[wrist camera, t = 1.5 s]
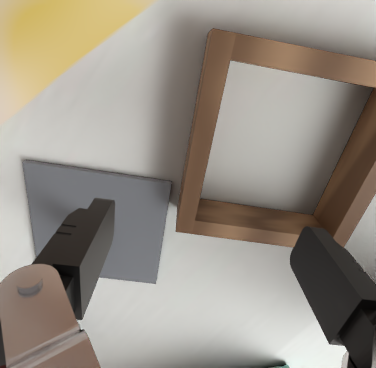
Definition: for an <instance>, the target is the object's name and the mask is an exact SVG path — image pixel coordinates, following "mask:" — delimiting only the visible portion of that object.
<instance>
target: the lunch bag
mask: <svg viewBox="0 0 376 368" xmlns="http://www.w3.org/2000/svg"><path fill="white" fill-rule="evenodd" d="M270 368H289V366H288V365H284V366H282V367H270Z"/></svg>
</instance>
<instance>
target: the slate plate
mask: <svg viewBox="0 0 376 368" xmlns="http://www.w3.org/2000/svg"><path fill="white" fill-rule="evenodd" d="M22 163H23V169H24V176H25V183H26V190H27V197H28V203H29V210H30V217H31V224H32V231H33V237H34V244H35V251H36V258H37V256H38V255H39V254H40V252H41V251H42V250H43V248H44V247H45V245H46V244H47V243H48V241H49V240H50V239H51V237H52V236H53V235H54V234H55V233H56V231H57V229H58V228H59V226H61V224H62V222H63V221H64V220H65V218H66V217H67V216H68V215H69V214H70V213H72V212H74V211H75V210H77V209H78V208H83V209H88V207H89V206H90V204H91V203H92V201H93V199H94V198H104V199H111V200H115V223H114V236H113V241H112V245H111V248H110V250H109V253H108V255H107V258H106V260H105V263H104V265H103V268H102V271H101V273H100V276H99V277H101V278H110V279H118V280H127V281H135V282H144V283H153V284H156V280H157V273H158V267H159V261H160V254H161V248H162V241H163V235H164V228H165V222H166V216H167V209H168V203H169V196H170V190H171V183H172V181H165V180H159V179H152V178H145V177H138V176H132V175H125V174H118V173H112V172H105V171H98V170H91V169H85V168H78V167H71V166H65V165H58V164H51V163H44V162H38V161H31V160H25V161H23V162H22Z"/></svg>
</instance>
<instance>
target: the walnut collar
mask: <svg viewBox="0 0 376 368" xmlns="http://www.w3.org/2000/svg"><path fill="white" fill-rule="evenodd" d="M230 60H231V61H237V62H242V63H247V64H252V65H257V66H263V67H268V68H273V69H278V70H284V71H289V72H294V73H299V74H304V75H310V76H315V77H320V78H325V79H331V80H336V81H341V82H346V83H351V84H357V85H362V86H367V87H372V88H374V89H373V91H372V93H371V95H370V97H369V99H368V101H367V103H366V105H365V107H364V109H363V112H362V114H361V116H360V118H359V120H358V122H357V124H356V126H355V128H354V130H353V132H352V134H351V137H350V139H349V141H348V143H347V145H346V147H345V149H344V151H343V153H342V155H341V157H340V159H339V162H338V164H337V166H336V168H335V170H334V172H333V174H332V176H331V178H330V180H329V182H328V184H327V186H326V189H325V191H324V193H323V195H322V197H321V199H320V201H319V203H318V205H317V207H316V209H315V211H314V214H313V215H309V214H302V213H295V212H288V211H281V210H275V209H268V208H261V207H254V206H247V205H240V204H233V203H226V202H219V201H212V200H205V199H200V195H201V190H202V186H203V181H204V177H205V172H206V168H207V163H208V159H209V154H210V150H211V145H212V141H213V136H214V131H215V127H216V122H217V118H218V113H219V109H220V104H221V100H222V95H223V91H224V86H225V82H226V77H227V73H228V68H229V64H230ZM375 194H376V61H373V60H368V59H363V58H358V57H353V56H348V55H343V54H338V53H333V52H328V51H323V50H318V49H313V48H308V47H303V46H299V45H294V44H289V43H284V42H279V41H274V40H269V39H264V38H259V37H254V36H249V35H244V34H239V33H234V32H229V31H224V30H219V29H214V28H213V29H212V30H211V31H210V32H209V33H208V36H207V42H206V48H205V53H204V59H203V65H202V70H201V76H200V82H199V87H198V93H197V99H196V104H195V110H194V116H193V121H192V127H191V133H190V138H189V144H188V150H187V155H186V161H185V167H184V172H183V178H182V184H181V189H180V195H179V201H178V206H177V219H176V232H182V233H189V234H197V235H204V236H212V237H219V238H227V239H234V240H242V241H249V242H257V243H264V244H272V245H279V246H287V247H294V246H295V244H296V242H297V239H298V237H299V235H300V233H301V231H302V229H303V228H304V227H306V226H309V227H316V228H324V229H326V230H327V231H328V232H329V234H330V235H331V236H332V237H333V239H334V240H335V241H336V242H337V243H338V244H339V245H341V246H342V247H343V248H344V246H345V244H346V243H347V241H348V239H349V238H350V236H351V234H352V233H353V231H354V229H355V228H356V226H357V224H358V222H359V221H360V219H361V217H362V216H363V214H364V212H365V211H366V209H367V207H368V206H369V204H370V202H371V200H372V199H373V197H374V195H375Z"/></svg>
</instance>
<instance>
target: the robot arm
mask: <svg viewBox="0 0 376 368" xmlns="http://www.w3.org/2000/svg"><path fill="white" fill-rule="evenodd" d="M114 223H115V200H111V199H104V198H94V199H93V201H92V203H91V204H90V206H89V207H88V209H83V208H78V209H77V210H75V211H74V212H72V213H70V214H69V215H68V216H67V217H66V218H65V220H64V221H63V222H62V224H61V226H59V228H58V229H57V231H56V233H55V234H54V235H53V236H52V237H51V239H50V240H49V241H48V243H47V244H46V245H45V247H44V248H43V250H42V251H41V252H40V254H39V255H38V256H37V258H36V259H35V260H34V262H33V263H32V264H31V265H28V266H24V267H22V268H19V269H17V270H15V271H14V272H12V273H10V274H9V275H8V276H7V277H6V278H5V279H4V280H3V281H2V282H1V283H0V366H2V365H6V368H101V367H100V365H99V362H98V360H97V357H96V355H95V352H94V350H93V347H92V345H91V342H90V340H89V337H88V335H87V333H86V332H85V330H81V329H80V328H79V325H78V323H77V320H82V319H83V317H84V314H85V311H86V309H87V306H88V304H89V301H90V299H91V296H92V294H93V291H94V288H95V286H96V283H97V281H98V278H99V276H100V273H101V271H102V268H103V265H104V263H105V260H106V258H107V255H108V253H109V250H110V248H111V245H112V241H113V236H114ZM290 265H291V268H292V270H293V272H294V274H295V276H296V278H297V280H298V282H299V284H300V286H301V288H302V290H303V292H304V294H305V296H306V298H307V300H308V302H309V304H310V306H311V308H312V310H313V312H314V314H315V316H316V318H317V320H318V322H319V324H320V326H321V328H322V330H323V332H324V334H325V336H326V338H327V340H328V342H329V344H332V345H343V346H345V347H346V349H347V351H346V353H345V354H344V355H343V359H342V366H341V368H376V284H375V283H374V282H373V281H372V280H371V278H370V277H369V276H368V275H367V274H366V272H363V269H362V268H361V266H360V265H359V264H358V263H356V260H355V259H354V258H353V257H352V255H351V254H350V253H349V252H348V251H347V250H346V249H345V248H343V247H342V246H341V245H339V244H338V243H337V242H336V241H335V240H334V239H333V237H332V236H331V235H330V234H329V232H328V231H327V230H326V229H324V228H316V227H309V226H306V227H304V228H303V229H302V231H301V233H300V235H299V237H298V239H297V242H296V244H295V246H294V248H293V250H292V252H291V255H290ZM76 319H77V320H76Z"/></svg>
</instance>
